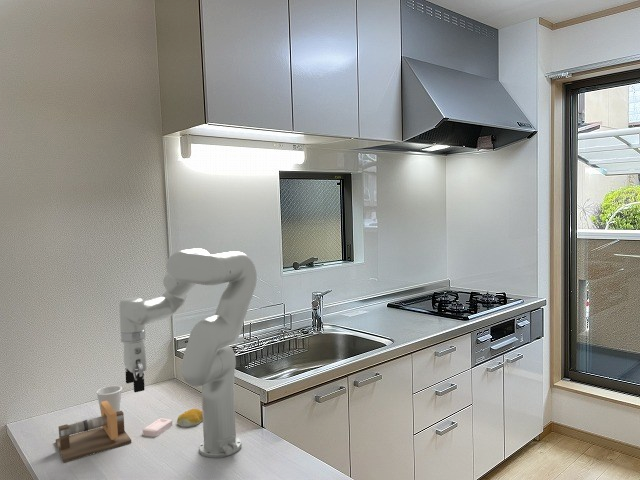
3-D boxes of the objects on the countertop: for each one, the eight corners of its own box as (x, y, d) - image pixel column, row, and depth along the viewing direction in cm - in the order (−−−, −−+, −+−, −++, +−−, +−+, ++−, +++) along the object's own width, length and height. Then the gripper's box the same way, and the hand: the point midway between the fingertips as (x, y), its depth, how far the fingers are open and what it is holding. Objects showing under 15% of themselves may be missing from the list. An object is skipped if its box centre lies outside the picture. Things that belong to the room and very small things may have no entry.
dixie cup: (114, 423, 170) (112, 394, 169) (92, 421, 172) (90, 393, 171) (128, 413, 178) (126, 385, 177) (107, 411, 180) (105, 384, 179)
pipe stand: (131, 442, 155) (130, 419, 154) (63, 462, 144) (62, 437, 143) (118, 425, 168) (117, 403, 167) (55, 442, 157) (54, 418, 156)
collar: (118, 438, 154) (116, 413, 153) (111, 440, 153) (109, 414, 152) (108, 424, 164) (106, 400, 164) (102, 425, 163) (100, 402, 163)
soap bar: (142, 436, 160) (141, 428, 160) (159, 424, 169) (159, 417, 169) (156, 438, 158) (155, 430, 158) (173, 426, 167) (172, 418, 167)
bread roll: (208, 417, 172) (207, 406, 172) (193, 429, 164) (193, 417, 163) (188, 415, 175) (187, 404, 175) (172, 426, 166) (172, 414, 166)
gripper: (152, 339, 157) (154, 392, 158) (137, 328, 171) (139, 377, 172) (128, 343, 153) (130, 397, 154) (114, 332, 167) (116, 381, 168)
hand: (135, 386), depth 163 cm, fingers open, 9 cm apart
